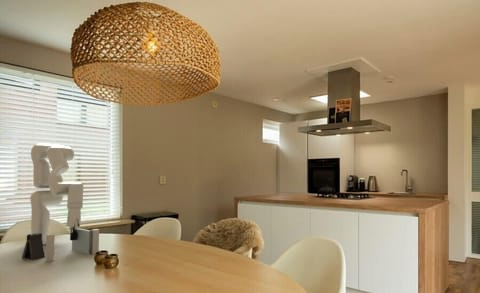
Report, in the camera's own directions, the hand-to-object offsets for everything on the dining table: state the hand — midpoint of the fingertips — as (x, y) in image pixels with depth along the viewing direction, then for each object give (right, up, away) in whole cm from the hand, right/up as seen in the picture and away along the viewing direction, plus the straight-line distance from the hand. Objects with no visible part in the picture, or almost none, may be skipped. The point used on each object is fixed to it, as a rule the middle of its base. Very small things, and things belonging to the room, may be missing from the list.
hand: (73, 239), depth 178 cm
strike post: (-3, -5, -17) cm, 18 cm away
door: (+5, -6, -1) cm, 8 cm away
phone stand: (-14, -6, -12) cm, 19 cm away
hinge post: (+13, -6, -4) cm, 15 cm away
